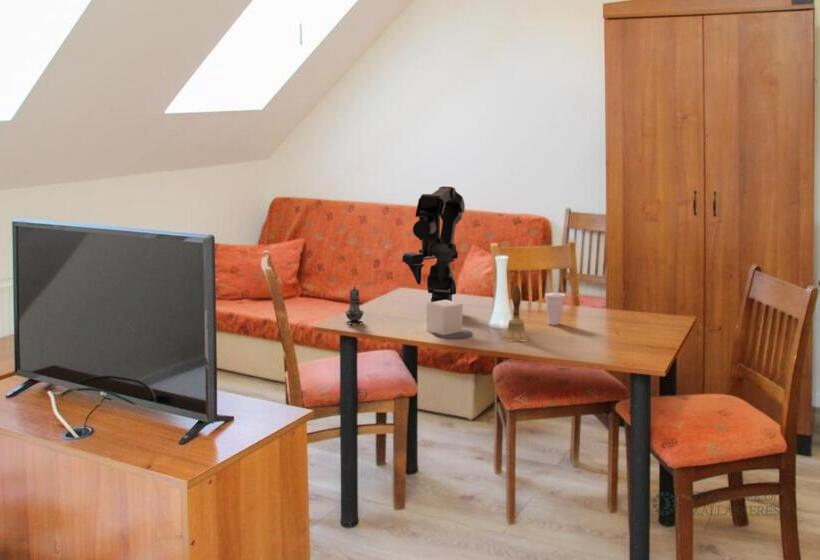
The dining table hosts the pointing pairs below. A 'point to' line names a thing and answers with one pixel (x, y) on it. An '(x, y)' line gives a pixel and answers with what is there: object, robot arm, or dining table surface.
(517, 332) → the hand bell
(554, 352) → the dining table surface
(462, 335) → the disc
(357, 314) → the salt shaker
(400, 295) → the dining table surface
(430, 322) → the white block
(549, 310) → the smoothie
